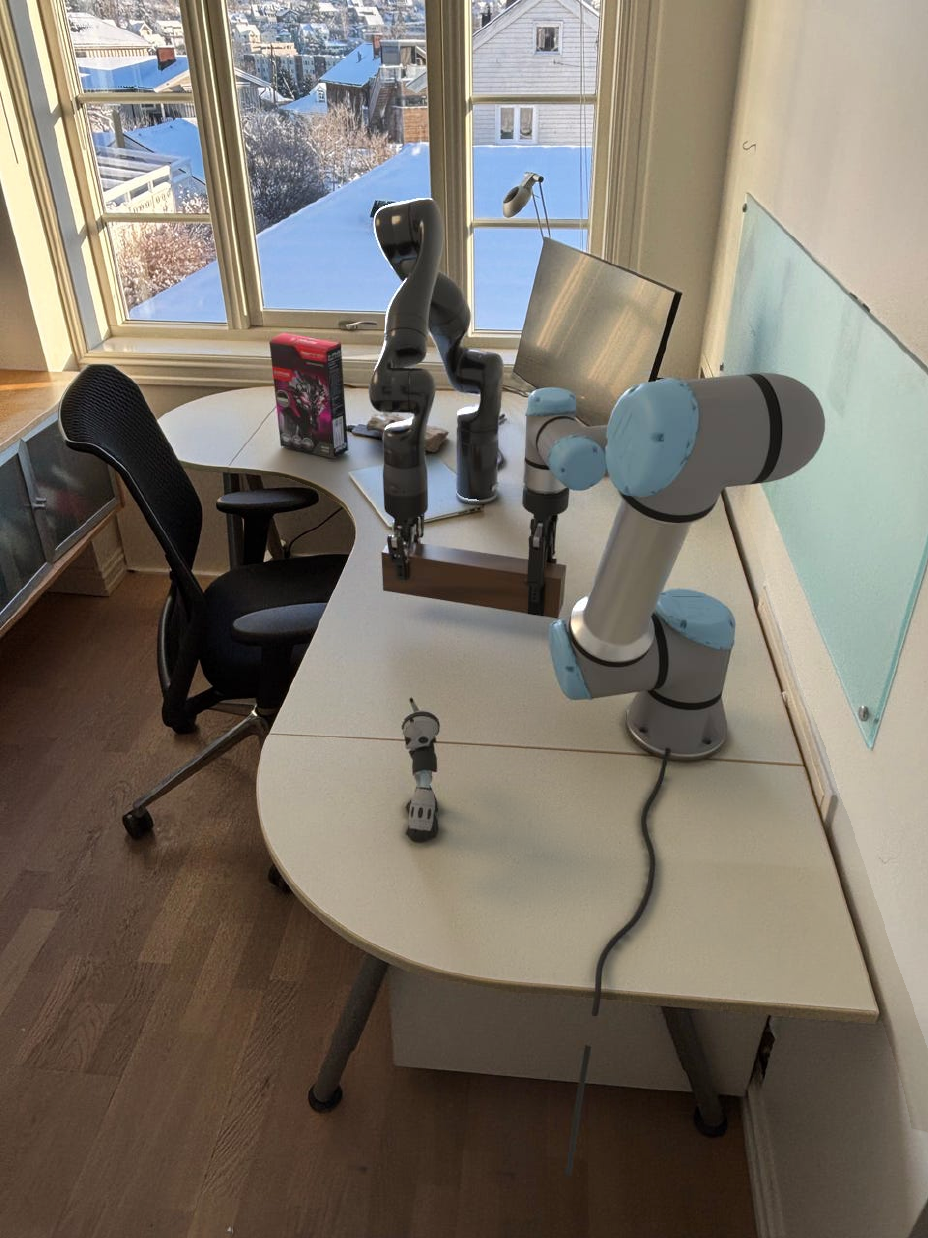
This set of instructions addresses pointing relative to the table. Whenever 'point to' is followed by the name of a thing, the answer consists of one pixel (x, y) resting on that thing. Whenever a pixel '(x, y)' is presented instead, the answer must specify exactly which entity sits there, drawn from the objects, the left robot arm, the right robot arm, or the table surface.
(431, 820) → the robot
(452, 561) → the walnut beam
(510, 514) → the table surface
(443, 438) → the stone
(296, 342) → the graphics card box
